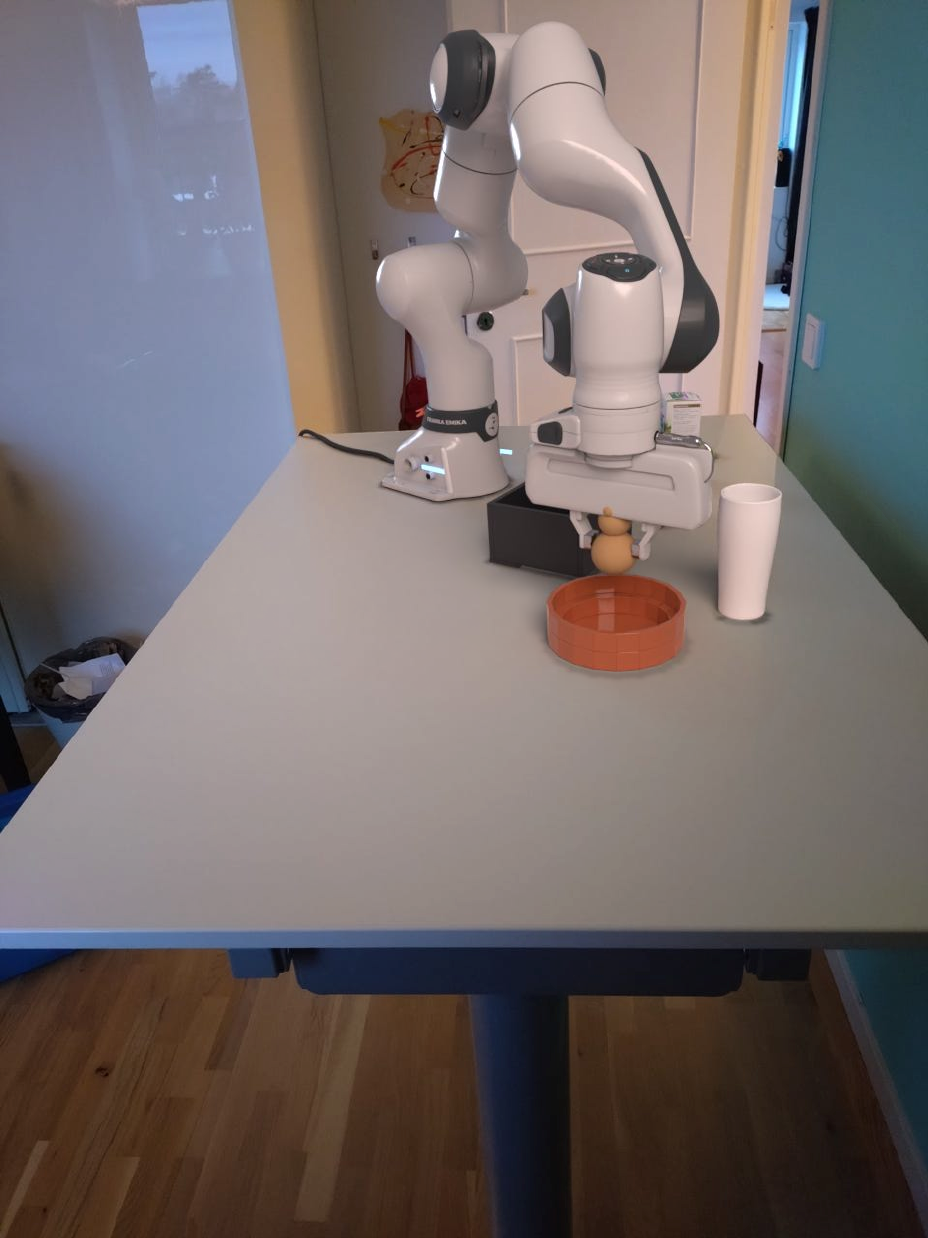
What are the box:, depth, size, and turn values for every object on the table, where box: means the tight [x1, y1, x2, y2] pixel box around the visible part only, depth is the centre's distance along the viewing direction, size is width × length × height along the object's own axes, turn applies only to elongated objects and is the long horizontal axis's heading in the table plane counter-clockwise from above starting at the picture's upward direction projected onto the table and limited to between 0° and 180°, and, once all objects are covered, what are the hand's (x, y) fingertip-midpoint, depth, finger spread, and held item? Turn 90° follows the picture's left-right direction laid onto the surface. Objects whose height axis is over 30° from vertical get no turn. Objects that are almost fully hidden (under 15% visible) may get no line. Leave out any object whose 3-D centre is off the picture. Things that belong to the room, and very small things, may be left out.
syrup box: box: [660, 391, 703, 438], centre depth 145 cm, size 6×6×14 cm
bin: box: [486, 481, 633, 578], centre depth 124 cm, size 15×15×9 cm
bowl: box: [546, 573, 687, 672], centre depth 101 cm, size 15×15×5 cm
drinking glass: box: [716, 482, 783, 621], centre depth 103 cm, size 7×7×15 cm
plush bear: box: [591, 507, 638, 575], centre depth 96 cm, size 5×5×8 cm
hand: (614, 552), depth 97 cm, fingers closed on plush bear, 5 cm apart
